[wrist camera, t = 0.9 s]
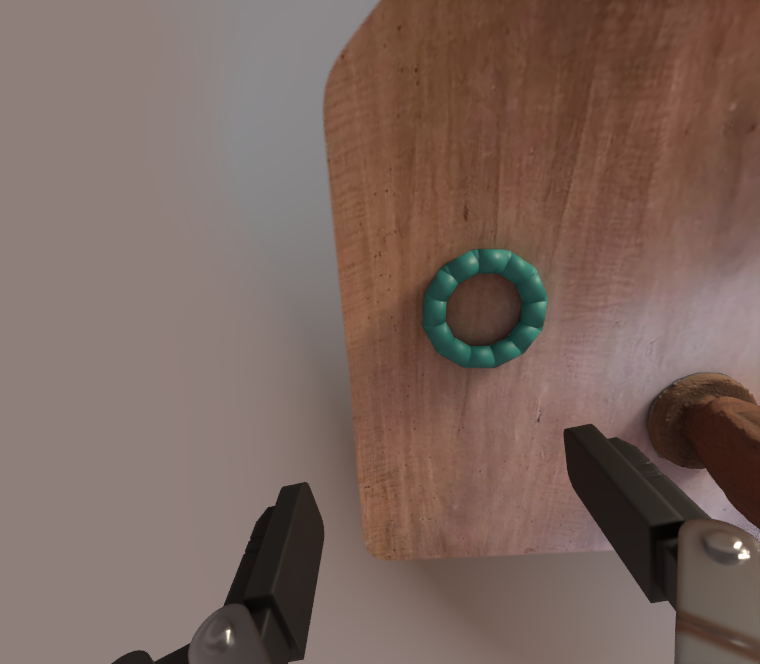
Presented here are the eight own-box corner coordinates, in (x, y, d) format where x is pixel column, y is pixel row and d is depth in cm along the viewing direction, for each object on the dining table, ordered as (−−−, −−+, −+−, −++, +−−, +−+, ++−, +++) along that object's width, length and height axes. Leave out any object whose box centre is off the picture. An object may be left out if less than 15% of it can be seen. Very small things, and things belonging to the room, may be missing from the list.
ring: (401, 285, 30) (402, 290, 28) (513, 224, 28) (521, 225, 26) (453, 380, 32) (457, 390, 31) (557, 329, 31) (568, 337, 29)
